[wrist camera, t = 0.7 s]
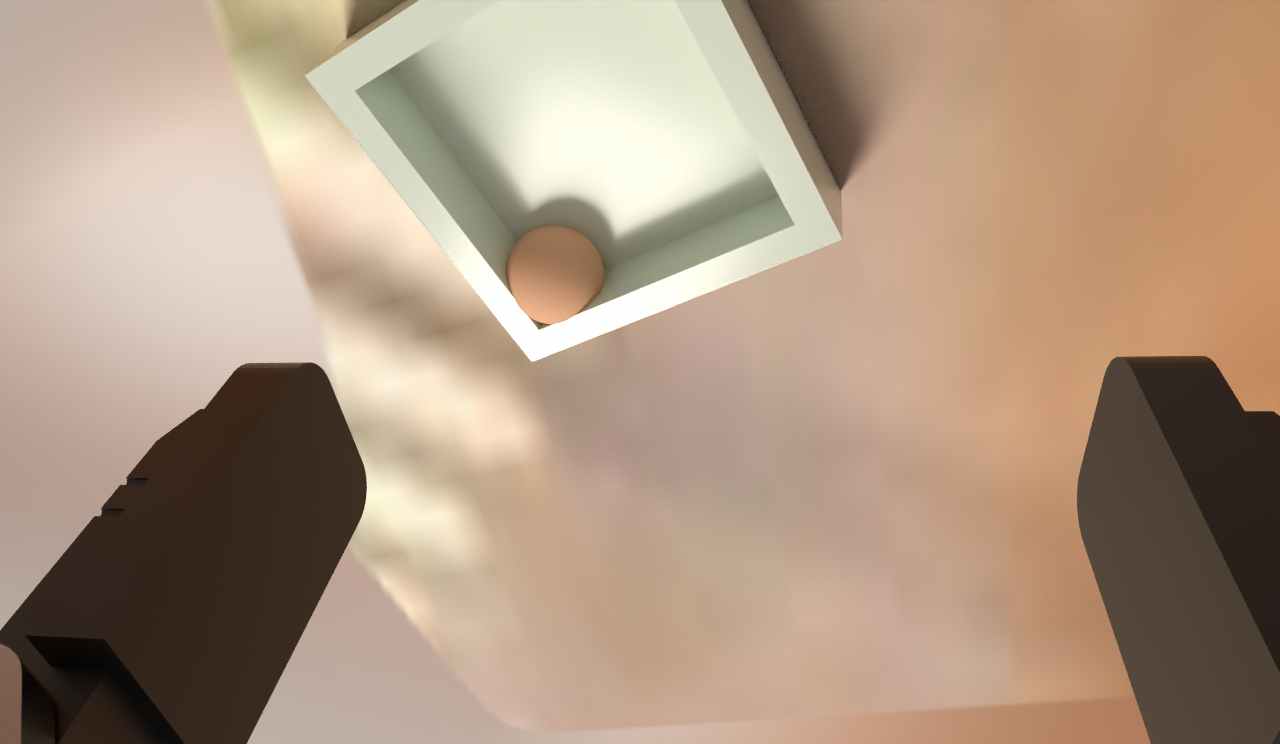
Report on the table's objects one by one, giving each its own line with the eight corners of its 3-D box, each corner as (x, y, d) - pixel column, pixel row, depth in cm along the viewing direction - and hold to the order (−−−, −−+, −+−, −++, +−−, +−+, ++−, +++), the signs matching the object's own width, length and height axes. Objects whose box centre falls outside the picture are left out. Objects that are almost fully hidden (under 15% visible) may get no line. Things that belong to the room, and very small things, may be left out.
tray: (662, -171, 22) (645, -150, 20) (841, 191, 27) (842, 239, 25) (345, 39, 27) (304, 75, 25) (550, 313, 32) (531, 362, 30)
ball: (578, 192, 29) (556, 244, 26) (629, 268, 30) (613, 324, 28) (500, 229, 30) (472, 282, 28) (553, 300, 32) (531, 357, 29)
